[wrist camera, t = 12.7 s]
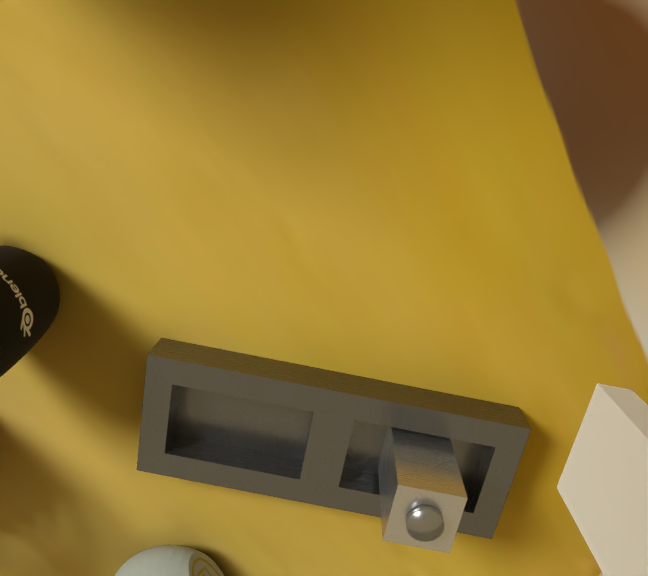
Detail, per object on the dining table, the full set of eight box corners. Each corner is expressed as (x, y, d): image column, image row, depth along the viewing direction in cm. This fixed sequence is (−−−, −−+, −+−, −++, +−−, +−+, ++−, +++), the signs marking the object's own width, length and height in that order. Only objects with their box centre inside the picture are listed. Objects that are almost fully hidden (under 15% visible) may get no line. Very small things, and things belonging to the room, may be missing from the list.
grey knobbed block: (390, 417, 42) (398, 491, 33) (447, 428, 42) (469, 504, 33) (377, 465, 43) (383, 547, 35) (432, 475, 43) (451, 560, 35)
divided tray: (161, 337, 41) (147, 354, 38) (518, 407, 41) (531, 429, 38) (150, 447, 44) (136, 470, 41) (483, 511, 44) (491, 538, 42)
